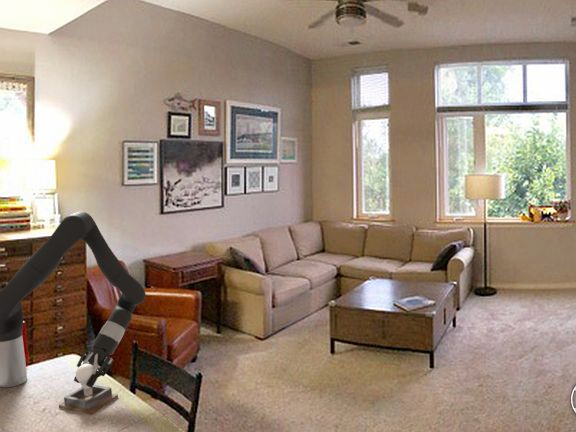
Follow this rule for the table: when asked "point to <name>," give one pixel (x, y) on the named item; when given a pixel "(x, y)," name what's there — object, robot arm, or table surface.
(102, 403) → the bulb stand
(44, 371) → the table surface
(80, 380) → the lightbulb
